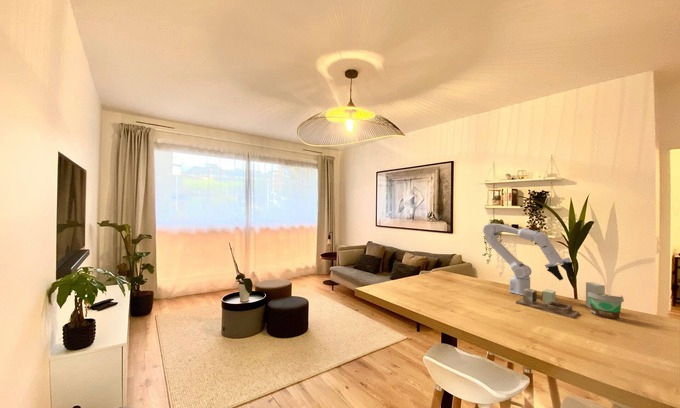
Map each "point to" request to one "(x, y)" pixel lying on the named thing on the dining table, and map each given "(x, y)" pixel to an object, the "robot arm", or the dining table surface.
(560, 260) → the robot arm
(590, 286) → the skincare box
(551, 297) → the green block
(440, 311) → the dining table surface
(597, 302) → the food container
